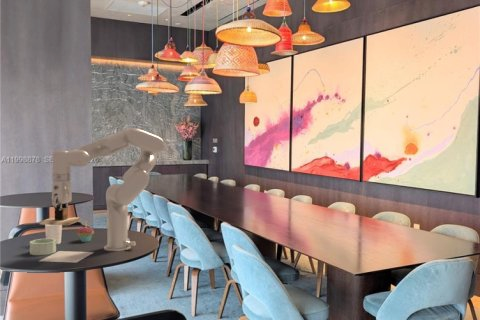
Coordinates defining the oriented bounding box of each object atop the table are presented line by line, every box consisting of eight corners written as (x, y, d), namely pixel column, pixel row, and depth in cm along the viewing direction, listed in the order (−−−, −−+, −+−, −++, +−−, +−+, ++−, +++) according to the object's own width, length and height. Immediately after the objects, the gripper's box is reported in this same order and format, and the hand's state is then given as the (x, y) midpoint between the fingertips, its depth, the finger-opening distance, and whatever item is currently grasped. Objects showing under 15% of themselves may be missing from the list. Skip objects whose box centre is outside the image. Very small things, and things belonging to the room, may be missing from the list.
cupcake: (95, 241, 218) (95, 218, 218) (79, 243, 213) (78, 220, 213) (91, 238, 225) (91, 216, 225) (75, 240, 221) (74, 217, 220)
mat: (94, 253, 195) (94, 252, 195) (76, 263, 178) (76, 262, 178) (59, 251, 196) (59, 251, 196) (38, 261, 179) (38, 261, 179)
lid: (81, 220, 194) (81, 206, 194) (68, 225, 181) (68, 211, 181) (54, 219, 194) (54, 206, 194) (39, 224, 182) (39, 210, 181)
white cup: (57, 241, 218) (57, 222, 218) (65, 243, 213) (64, 223, 213) (42, 243, 212) (42, 224, 212) (49, 246, 207) (49, 226, 207)
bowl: (60, 250, 199) (60, 238, 199) (47, 256, 188) (47, 244, 188) (38, 249, 200) (38, 238, 200) (24, 255, 189) (24, 243, 189)
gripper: (60, 179, 179) (60, 221, 179) (77, 176, 195) (77, 215, 196) (43, 179, 179) (43, 221, 179) (62, 176, 196) (61, 215, 196)
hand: (61, 218), depth 188 cm, fingers closed on lid, 4 cm apart
